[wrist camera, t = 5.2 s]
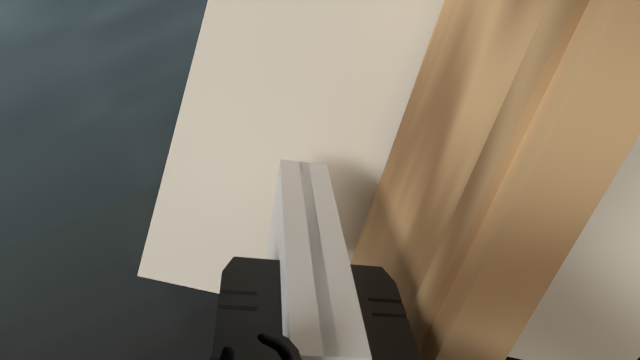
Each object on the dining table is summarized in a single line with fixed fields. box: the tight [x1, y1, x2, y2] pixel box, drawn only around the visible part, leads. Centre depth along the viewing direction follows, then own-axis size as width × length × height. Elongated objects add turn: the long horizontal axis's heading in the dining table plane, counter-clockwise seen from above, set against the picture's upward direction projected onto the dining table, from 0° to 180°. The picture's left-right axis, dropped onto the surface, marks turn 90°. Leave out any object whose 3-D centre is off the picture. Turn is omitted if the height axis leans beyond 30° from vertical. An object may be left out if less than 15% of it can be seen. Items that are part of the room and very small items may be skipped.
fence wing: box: [350, 0, 640, 360], centre depth 11 cm, size 15×2×7 cm, turn 165°
